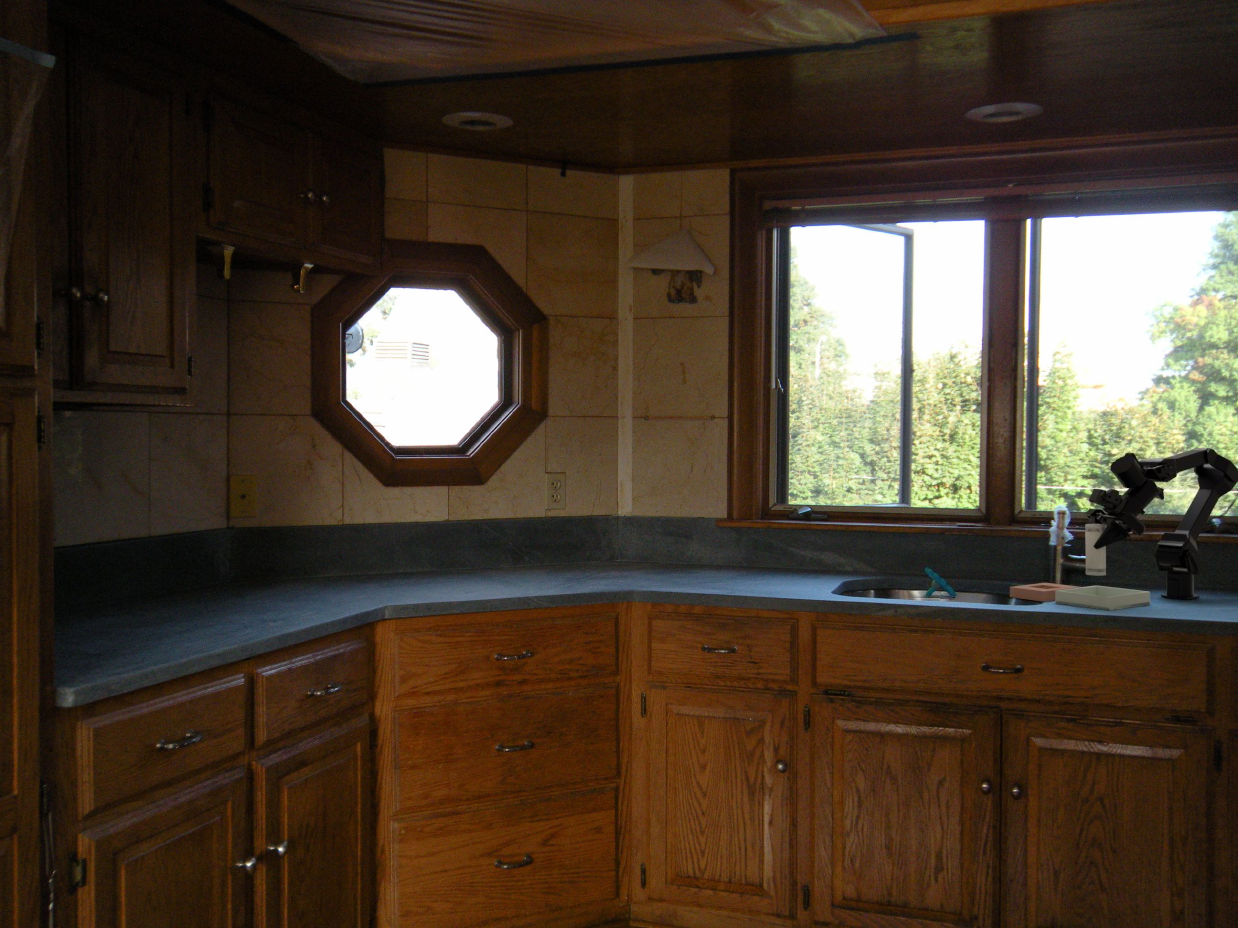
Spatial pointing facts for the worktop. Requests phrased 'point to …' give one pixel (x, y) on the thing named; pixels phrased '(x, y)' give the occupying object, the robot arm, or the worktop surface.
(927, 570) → the teal branched piece
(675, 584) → the worktop surface
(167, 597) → the worktop surface
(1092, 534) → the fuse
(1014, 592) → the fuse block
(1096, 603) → the tray
